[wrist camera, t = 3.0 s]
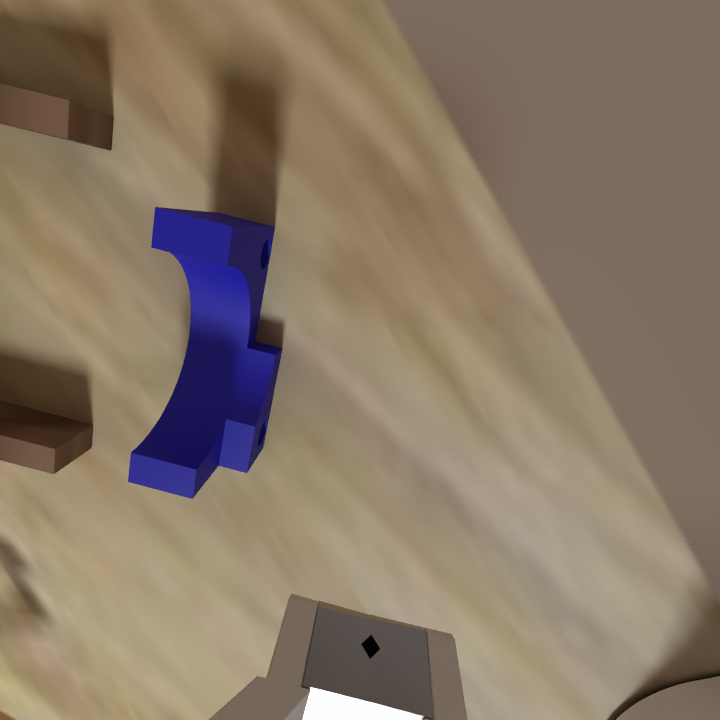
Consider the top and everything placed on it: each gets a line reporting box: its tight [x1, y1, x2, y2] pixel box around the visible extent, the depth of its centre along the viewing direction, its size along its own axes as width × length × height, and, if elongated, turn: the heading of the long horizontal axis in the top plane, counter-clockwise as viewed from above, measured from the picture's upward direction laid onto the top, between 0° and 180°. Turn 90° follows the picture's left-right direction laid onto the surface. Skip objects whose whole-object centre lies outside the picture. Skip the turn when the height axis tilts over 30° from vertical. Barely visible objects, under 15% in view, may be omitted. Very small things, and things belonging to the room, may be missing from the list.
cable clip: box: [128, 207, 282, 499], centre depth 22 cm, size 12×4×6 cm, turn 167°
